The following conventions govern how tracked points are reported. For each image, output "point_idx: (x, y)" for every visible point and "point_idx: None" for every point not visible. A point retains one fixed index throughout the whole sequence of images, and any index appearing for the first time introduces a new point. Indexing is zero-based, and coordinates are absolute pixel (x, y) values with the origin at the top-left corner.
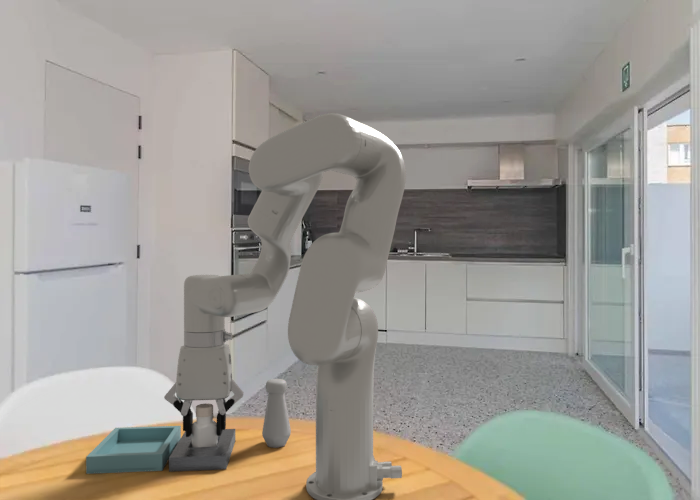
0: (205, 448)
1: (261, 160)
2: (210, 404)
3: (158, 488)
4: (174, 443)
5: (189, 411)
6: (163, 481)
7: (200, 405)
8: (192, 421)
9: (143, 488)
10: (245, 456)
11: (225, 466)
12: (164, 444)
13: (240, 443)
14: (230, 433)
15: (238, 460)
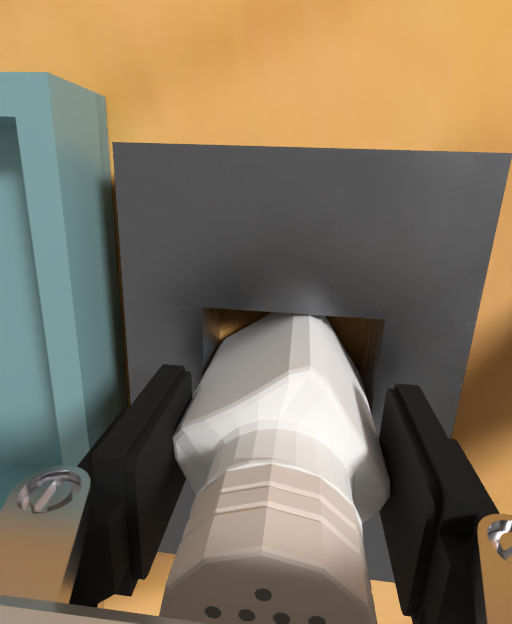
0: None
1: None
2: (340, 611)
3: None
4: (99, 280)
5: (111, 583)
6: (166, 566)
7: (208, 613)
8: (167, 420)
9: (115, 596)
10: (508, 411)
11: None
12: (66, 432)
13: (502, 210)
14: (462, 264)
15: (465, 450)
